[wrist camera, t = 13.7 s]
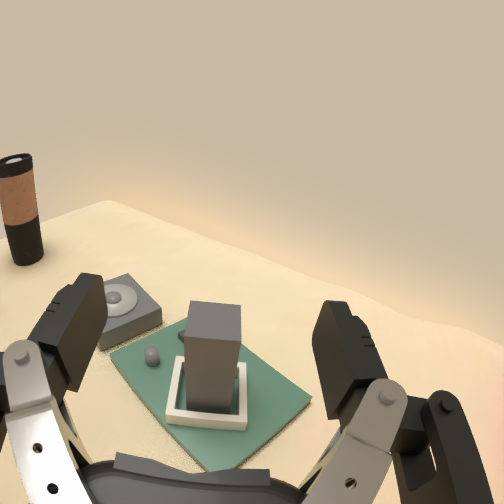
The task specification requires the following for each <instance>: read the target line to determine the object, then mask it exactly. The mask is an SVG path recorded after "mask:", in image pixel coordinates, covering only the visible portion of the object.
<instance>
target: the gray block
mask: <svg viewBox="0 0 504 504" xmlns="http://www.w3.org/2000/svg"><path fill="white" fill-rule="evenodd" d="M240 347H241V305H233V304H221V303H211V302H201V301H191V300H190V305H189V311H188V316H187V322H186V328H185V333H184V362H185V392H186V411H195V412H204V413H214V414H227V415H229V411H230V406H231V400H232V394H233V388H234V382H235V376H236V370H237V364H238V358H239V353H240Z"/></svg>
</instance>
